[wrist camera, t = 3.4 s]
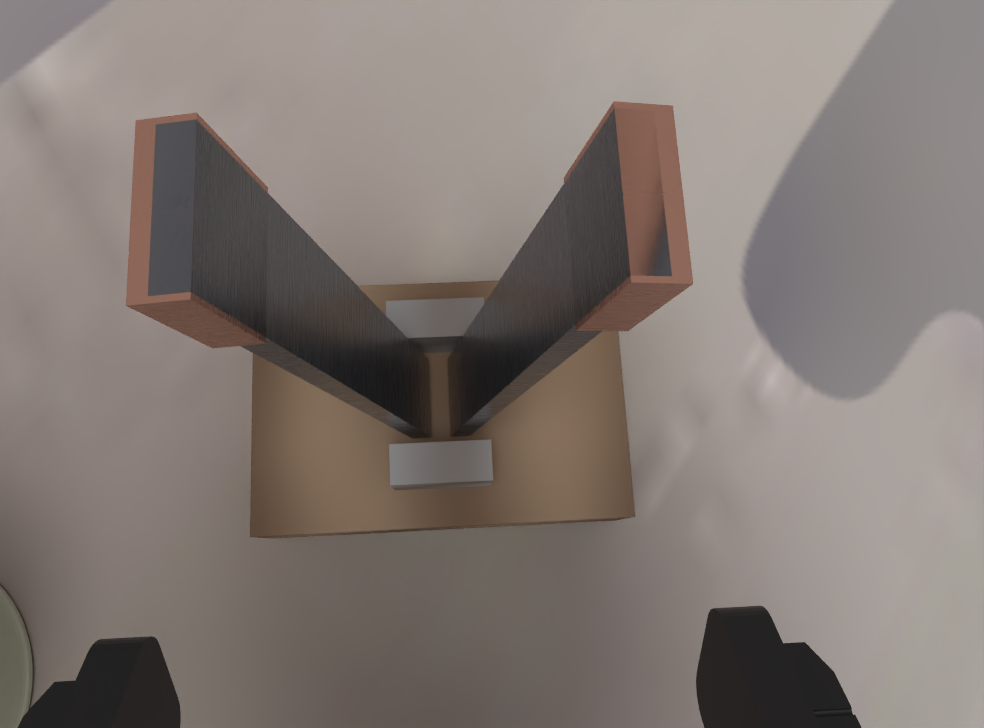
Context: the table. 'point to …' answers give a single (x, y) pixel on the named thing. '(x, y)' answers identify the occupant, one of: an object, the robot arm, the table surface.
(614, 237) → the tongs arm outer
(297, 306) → the bar
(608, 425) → the stand
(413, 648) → the table surface
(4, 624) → the can
